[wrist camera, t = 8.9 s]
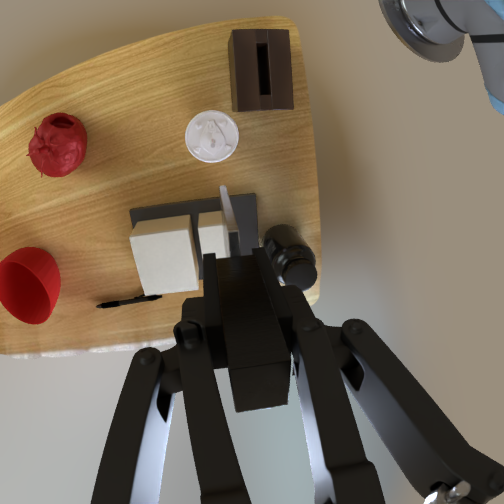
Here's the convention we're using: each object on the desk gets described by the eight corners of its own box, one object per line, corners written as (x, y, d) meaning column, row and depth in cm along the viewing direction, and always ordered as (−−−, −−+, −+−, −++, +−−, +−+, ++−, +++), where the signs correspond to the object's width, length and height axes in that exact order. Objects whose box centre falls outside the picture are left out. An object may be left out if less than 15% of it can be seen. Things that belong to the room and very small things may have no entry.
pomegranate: (98, 165, 40) (74, 179, 32) (48, 177, 39) (19, 193, 31) (90, 104, 35) (64, 105, 27) (39, 120, 34) (8, 126, 26)
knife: (235, 184, 25) (293, 328, 9) (239, 247, 28) (286, 421, 12) (209, 186, 25) (222, 338, 9) (216, 249, 27) (239, 429, 12)
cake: (190, 214, 45) (187, 229, 40) (198, 269, 50) (198, 289, 45) (137, 221, 44) (128, 237, 39) (150, 275, 49) (145, 295, 44)
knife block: (275, 42, 35) (288, 29, 28) (279, 109, 41) (294, 109, 33) (227, 43, 35) (232, 29, 28) (232, 111, 40) (237, 112, 33)
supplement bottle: (276, 266, 53) (294, 306, 42) (252, 240, 50) (266, 278, 39) (307, 242, 52) (332, 278, 41) (285, 214, 49) (307, 246, 38)
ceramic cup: (-2, 248, 42) (-28, 273, 34) (54, 225, 43) (27, 252, 34) (24, 300, 48) (5, 330, 40) (82, 286, 49) (64, 320, 40)
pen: (160, 289, 52) (159, 293, 51) (163, 296, 52) (162, 300, 51) (95, 300, 51) (93, 304, 50) (98, 307, 52) (96, 310, 51)
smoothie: (191, 154, 42) (184, 173, 30) (187, 112, 39) (178, 113, 27) (234, 150, 43) (245, 167, 30) (231, 108, 40) (242, 107, 27)
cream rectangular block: (224, 210, 46) (227, 224, 40) (230, 265, 50) (233, 285, 45) (198, 213, 45) (198, 228, 40) (207, 268, 50) (207, 288, 45)
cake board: (254, 192, 46) (255, 194, 45) (259, 269, 53) (260, 272, 52) (130, 208, 44) (129, 210, 43) (148, 282, 51) (147, 285, 50)
